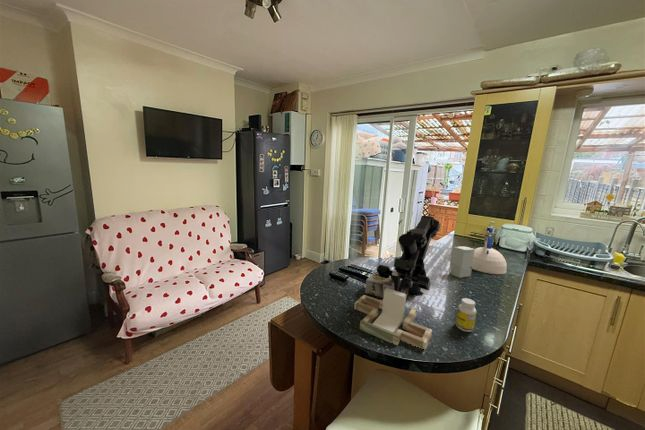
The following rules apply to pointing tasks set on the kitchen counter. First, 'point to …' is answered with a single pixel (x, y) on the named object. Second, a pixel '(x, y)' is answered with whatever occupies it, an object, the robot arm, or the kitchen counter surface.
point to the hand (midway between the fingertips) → (395, 298)
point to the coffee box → (380, 285)
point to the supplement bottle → (466, 315)
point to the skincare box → (462, 261)
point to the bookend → (392, 310)
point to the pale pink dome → (488, 259)
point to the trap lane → (413, 336)
